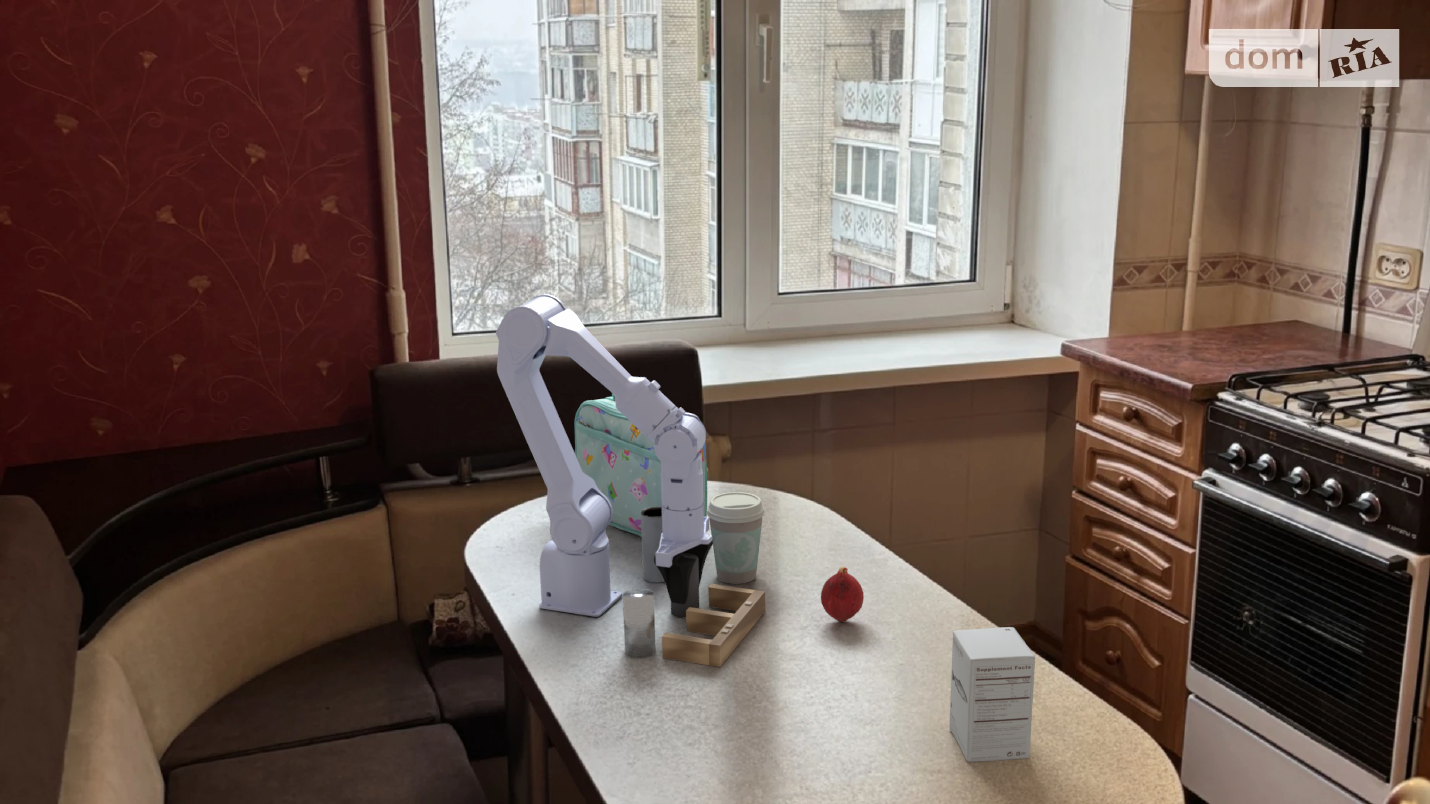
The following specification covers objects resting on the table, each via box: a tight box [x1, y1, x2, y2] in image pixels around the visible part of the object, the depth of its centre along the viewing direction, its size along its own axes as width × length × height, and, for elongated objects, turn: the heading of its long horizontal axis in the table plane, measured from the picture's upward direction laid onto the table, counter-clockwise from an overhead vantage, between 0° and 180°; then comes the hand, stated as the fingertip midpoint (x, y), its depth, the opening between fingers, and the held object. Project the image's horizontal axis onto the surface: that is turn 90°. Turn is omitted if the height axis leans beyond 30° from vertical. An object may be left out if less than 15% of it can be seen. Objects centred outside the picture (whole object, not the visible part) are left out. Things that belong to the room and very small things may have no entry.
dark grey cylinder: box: [670, 553, 701, 619], centre depth 176 cm, size 4×4×8 cm
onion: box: [820, 565, 865, 623], centre depth 172 cm, size 6×6×8 cm
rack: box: [661, 583, 766, 668], centre depth 170 cm, size 8×18×3 cm, turn 159°
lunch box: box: [574, 392, 708, 538], centre depth 208 cm, size 27×10×21 cm, turn 43°
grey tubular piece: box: [641, 507, 665, 583], centre depth 188 cm, size 4×4×10 cm
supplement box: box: [948, 626, 1036, 763], centre depth 141 cm, size 7×7×13 cm
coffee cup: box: [707, 491, 766, 585], centre depth 187 cm, size 8×9×12 cm
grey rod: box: [622, 588, 656, 659], centre depth 165 cm, size 4×4×8 cm
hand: (684, 595), depth 177 cm, fingers closed on dark grey cylinder, 4 cm apart
